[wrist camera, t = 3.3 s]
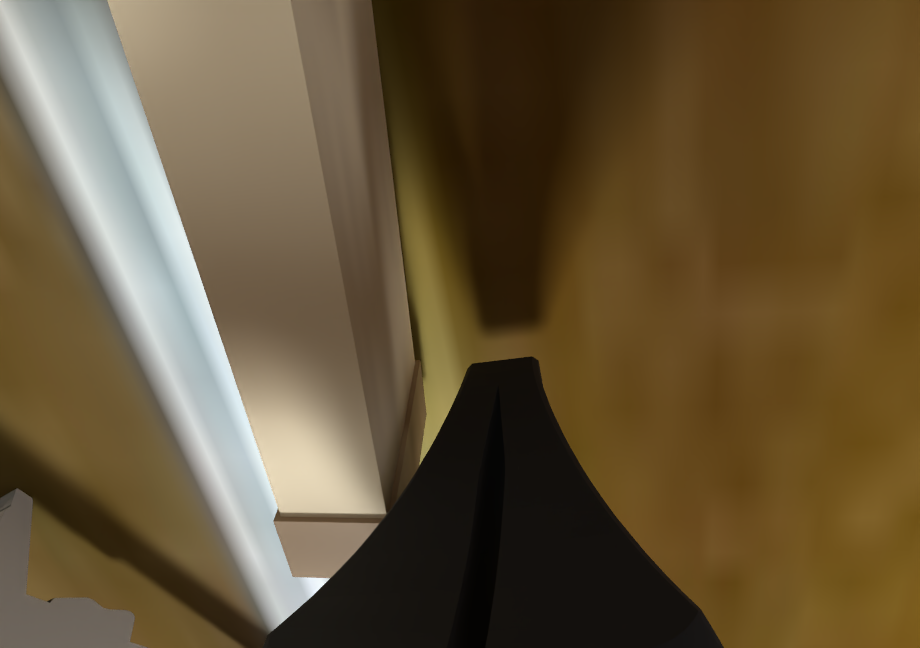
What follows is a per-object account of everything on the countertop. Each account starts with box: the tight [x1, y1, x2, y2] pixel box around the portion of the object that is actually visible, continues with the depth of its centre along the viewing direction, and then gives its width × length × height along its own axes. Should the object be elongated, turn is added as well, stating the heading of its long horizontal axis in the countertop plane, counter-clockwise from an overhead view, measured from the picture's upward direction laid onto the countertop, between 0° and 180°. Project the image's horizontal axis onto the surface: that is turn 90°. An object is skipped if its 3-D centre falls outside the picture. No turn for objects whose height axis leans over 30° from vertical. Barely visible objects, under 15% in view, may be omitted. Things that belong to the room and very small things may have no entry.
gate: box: [107, 0, 426, 578], centre depth 10 cm, size 11×2×4 cm, turn 3°
